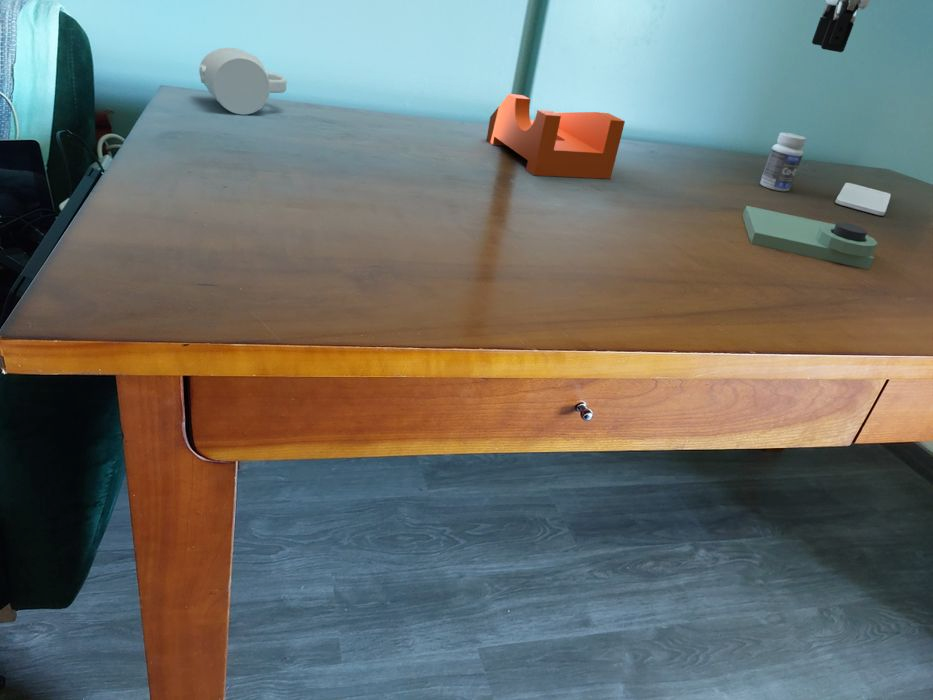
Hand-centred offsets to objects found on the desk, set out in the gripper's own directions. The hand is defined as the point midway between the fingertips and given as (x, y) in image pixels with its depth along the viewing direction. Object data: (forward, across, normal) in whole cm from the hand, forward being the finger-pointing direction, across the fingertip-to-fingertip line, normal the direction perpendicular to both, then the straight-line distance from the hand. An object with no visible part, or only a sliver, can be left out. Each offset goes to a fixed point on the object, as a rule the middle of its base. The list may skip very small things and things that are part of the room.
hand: (826, 47), depth 113 cm
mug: (+21, -29, +83) cm, 90 cm away
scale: (+21, -34, 0) cm, 40 cm away
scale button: (+18, -37, -4) cm, 42 cm away
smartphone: (+21, -2, -13) cm, 25 cm away
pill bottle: (+21, -6, +1) cm, 22 cm away
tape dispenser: (+21, -20, +37) cm, 47 cm away
